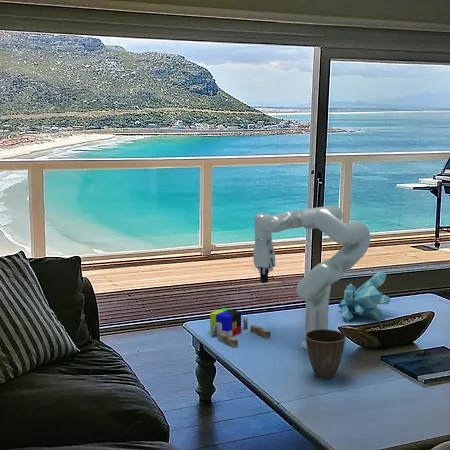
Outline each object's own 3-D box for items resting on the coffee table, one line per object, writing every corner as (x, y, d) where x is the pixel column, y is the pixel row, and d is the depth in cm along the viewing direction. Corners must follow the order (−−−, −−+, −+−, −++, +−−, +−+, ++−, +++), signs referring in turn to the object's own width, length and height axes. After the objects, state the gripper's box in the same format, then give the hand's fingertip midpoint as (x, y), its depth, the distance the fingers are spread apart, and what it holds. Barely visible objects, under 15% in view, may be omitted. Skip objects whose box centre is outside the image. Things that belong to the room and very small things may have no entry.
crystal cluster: (391, 327, 304) (390, 285, 299) (335, 326, 310) (334, 284, 306) (391, 310, 325) (390, 270, 320) (338, 309, 331) (337, 270, 326)
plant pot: (297, 372, 252) (298, 332, 249) (330, 365, 258) (331, 327, 255) (318, 386, 238) (318, 344, 236) (352, 379, 244) (353, 338, 241)
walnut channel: (270, 338, 290) (270, 331, 289) (234, 347, 279) (234, 340, 278) (254, 331, 300) (254, 324, 299) (218, 339, 288) (218, 333, 288)
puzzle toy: (227, 338, 290) (227, 317, 288) (210, 334, 296) (210, 313, 294) (241, 332, 298) (241, 311, 296) (223, 328, 304) (223, 308, 302)
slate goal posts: (248, 328, 303) (248, 318, 302) (213, 337, 292) (213, 326, 291) (245, 327, 304) (245, 317, 304) (211, 336, 293) (210, 325, 292)
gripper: (281, 242, 283) (282, 283, 286) (258, 238, 295) (259, 278, 298) (268, 245, 279) (269, 286, 281) (245, 240, 290) (246, 281, 293)
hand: (264, 282), depth 289 cm, fingers closed
